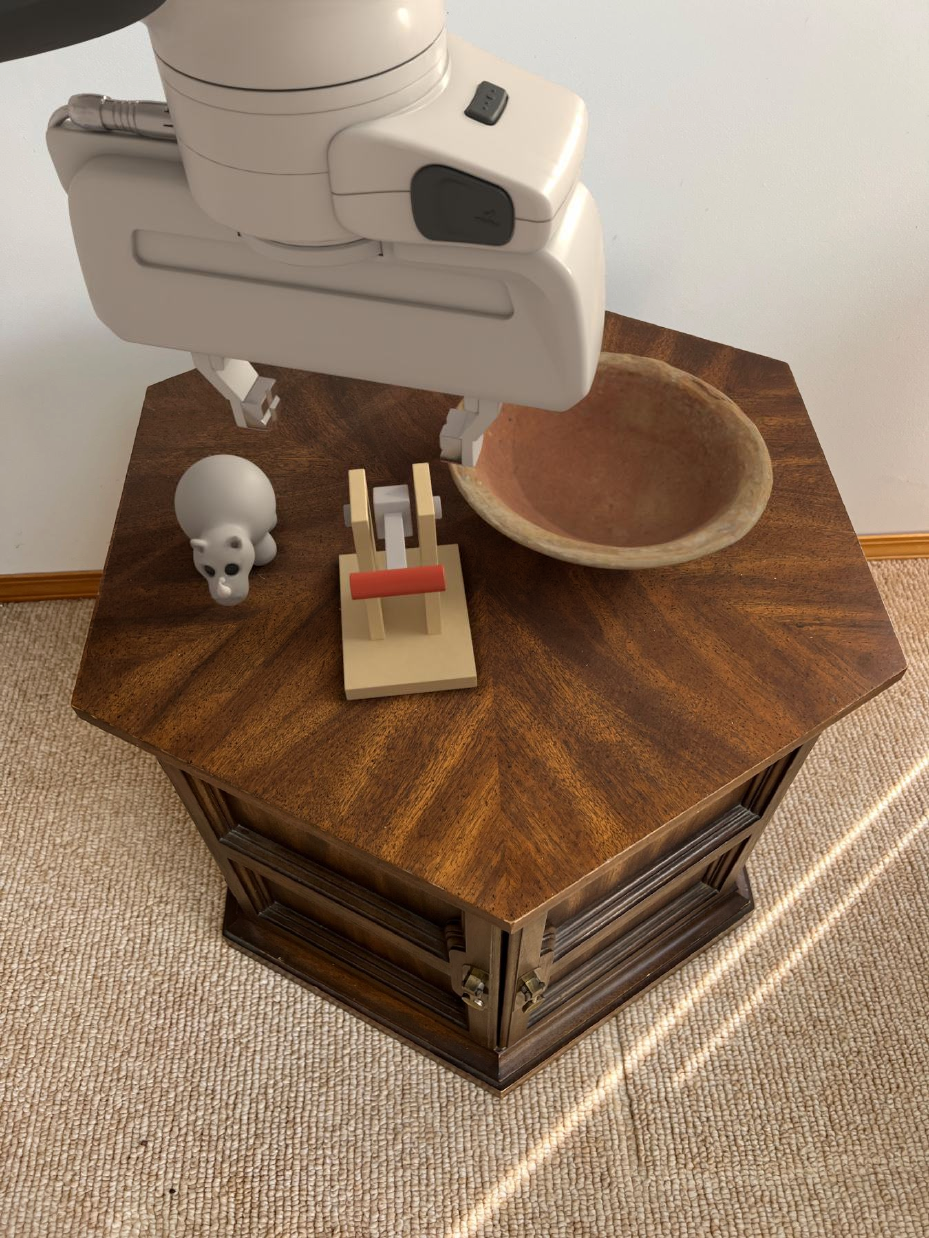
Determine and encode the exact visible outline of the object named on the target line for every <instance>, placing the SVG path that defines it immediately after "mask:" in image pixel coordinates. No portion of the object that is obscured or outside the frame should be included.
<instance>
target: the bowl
mask: <svg viewBox="0 0 929 1238" xmlns="http://www.w3.org/2000/svg"><path fill="white" fill-rule="evenodd" d="M454 409H460V410H465V409H464V396H462V398H461V399H460V401H459V402H458V404H457V405H456V406H455V408H454ZM447 465H448V468H449V471H450V475H451V477H452V480H453V482H454V484H455V486H456V488H457V489H458V491H459V493H460V494H461V495H462V497H463V498H464V500H465V501H466V502H467V504H468V505H469V506H470V507H471V508H472V509H473V510H474V511H475V512H476V513H477V514H478V516H479V517H481V518H482V519H483V520H484V521H485V522H486V523H487V524H488V525H490V526H491V527H492V528H494V529H496V530H497V531H499V532H500V533H501V534H503V535H505V536H506V537H508V538H509V539H511V540H512V541H514V542H516V543H518V544H520V545H521V546H524V547H527V548H528V549H531V550H532V551H535V552H537V553H541V554H543V555H545V556H548V557H551V558H554V559H556V560H560V561H563V562H566V563H571V564H575V565H580V566H585V567H591V568H598V569H607V570H628V571H629V570H633V571H634V570H638V571H639V570H648V569H658V568H659V569H660V568H663V567H670V566H675V565H681V564H685V563H688V562H691V561H694V560H697V559H700V558H703V557H705V556H708V555H711V554H712V553H716V552H718V551H720V550H723V549H724V548H727V547H730V546H732V545H734V544H736V543H737V542H739V541H740V540H741V539H742V538H743V537H744V536H745V535H746V534H748V533H749V532H750V531H751V530H752V529H753V527H754V526H755V525H756V524H757V522H759V520H760V518H761V516H762V514H763V513H764V511H765V510H766V508H767V505H768V501H769V499H770V498H771V493H772V489H773V485H774V474H773V473H774V471H773V464H772V460H771V456H770V452H769V450H768V447H767V444H766V442H765V440H764V438H763V436H762V434H761V433H760V431H759V429H758V427H757V425H756V424H755V423H754V422H753V421H752V419H750V418H749V417H748V415H746V414H745V412H744V411H743V410H742V409H741V408H740V407H739V405H738V404H736V402H735V401H733V400H732V399H731V398H730V397H729V396H727V395H726V394H725V393H723V392H722V391H720V390H719V389H717V388H716V387H714V386H713V385H711V384H710V383H708V382H706V381H704V380H703V379H701V378H699V377H697V376H695V375H692V374H691V373H689V372H688V371H684V370H682V369H680V368H676V367H675V366H672V365H670V364H669V363H667V362H666V361H663V360H660V359H657V358H653V357H648V356H646V357H645V356H640V355H636V354H632V353H618V352H609V351H608V352H607V351H600V356H599V360H598V364H597V369H596V373H595V376H594V379H593V382H592V385H591V388H590V391H589V392H588V394H587V395H586V396H585V397H584V398H583V399H582V400H580V401H579V402H578V403H577V404H575V405H574V406H573V407H571V408H570V409H568V410H566V411H561V412H559V411H550V410H545V409H539V408H534V407H527V406H521V405H515V404H509V403H503V404H502V406H501V409H500V412H499V415H498V417H497V418H496V419H495V421H494V422H493V423H492V424H491V425H490V426H489V427H488V428H487V430H486V431H485V432H484V433H483V443H482V448H481V452H480V454H479V457H478V460H477V463H476V465H475V467H474V468H472V467H468V466H461V465H456V464H451V463H447Z"/></svg>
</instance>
